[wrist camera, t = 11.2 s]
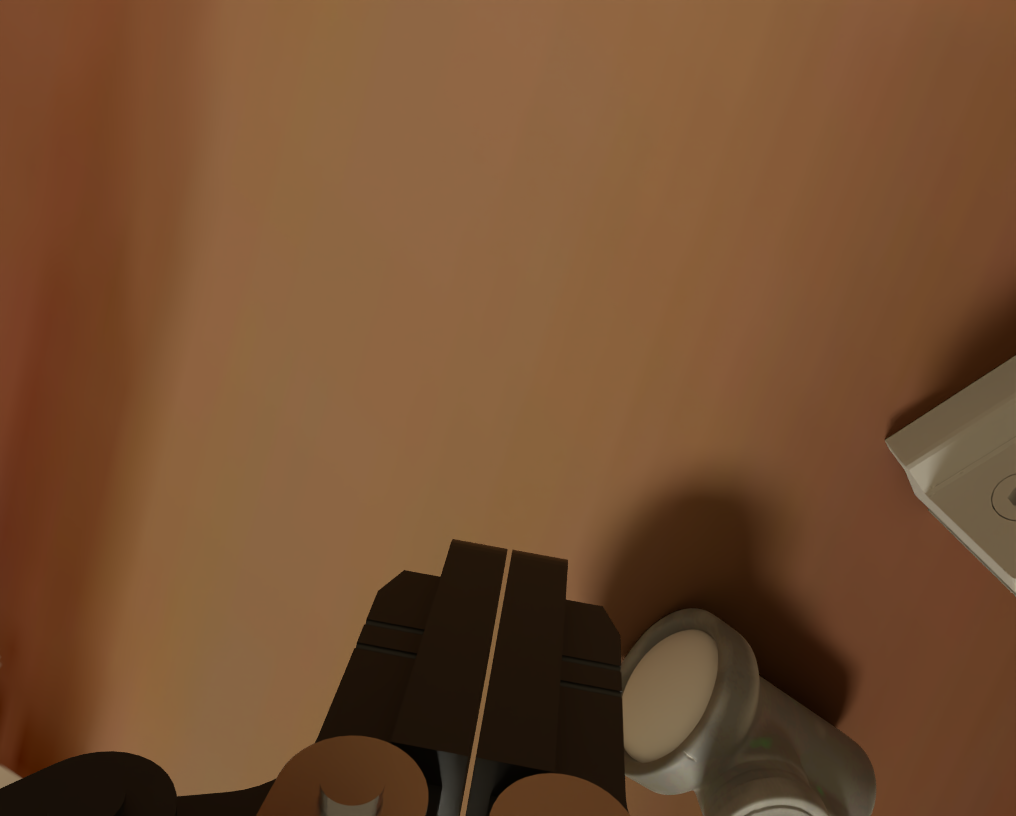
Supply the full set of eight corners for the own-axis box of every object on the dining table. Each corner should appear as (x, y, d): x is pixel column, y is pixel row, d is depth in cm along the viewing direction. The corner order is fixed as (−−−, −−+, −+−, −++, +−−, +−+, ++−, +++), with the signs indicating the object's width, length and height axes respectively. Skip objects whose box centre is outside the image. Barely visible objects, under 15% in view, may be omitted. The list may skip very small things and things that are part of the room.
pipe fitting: (582, 677, 43) (612, 853, 34) (695, 571, 41) (761, 727, 32) (747, 788, 47) (816, 976, 37) (859, 695, 45) (963, 869, 35)
